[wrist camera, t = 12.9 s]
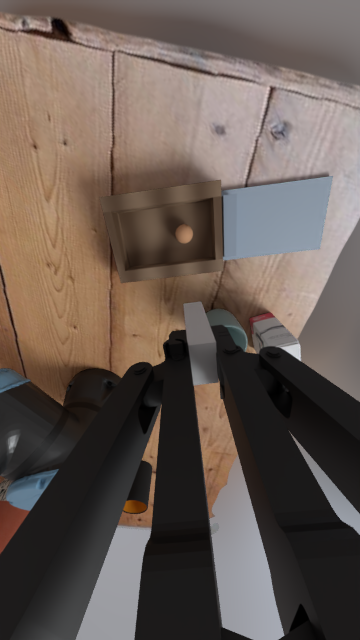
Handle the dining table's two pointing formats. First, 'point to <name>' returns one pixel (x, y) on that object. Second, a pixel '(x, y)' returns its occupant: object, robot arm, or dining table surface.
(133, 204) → the box
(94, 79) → the dining table surface
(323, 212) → the lid
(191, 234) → the ball
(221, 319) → the cup
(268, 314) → the ink box
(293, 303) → the dining table surface
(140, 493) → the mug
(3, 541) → the planter
